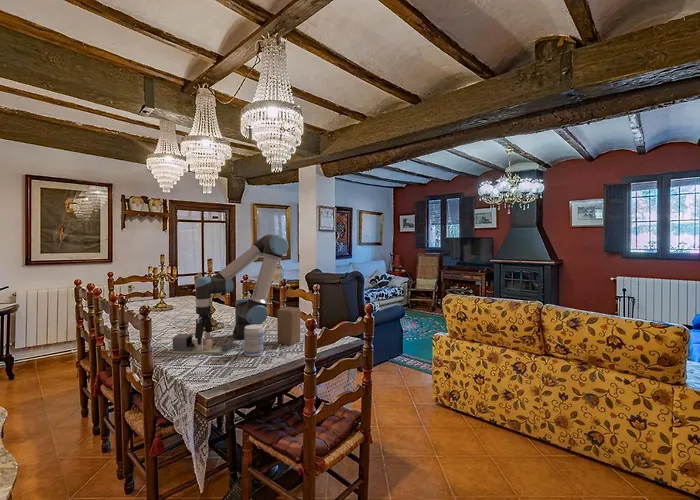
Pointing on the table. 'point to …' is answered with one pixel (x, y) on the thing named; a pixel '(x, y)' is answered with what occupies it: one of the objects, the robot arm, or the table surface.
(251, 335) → the supplement tub
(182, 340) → the cap
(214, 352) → the board
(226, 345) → the cap
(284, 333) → the wooden block
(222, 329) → the table surface
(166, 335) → the table surface
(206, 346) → the brown block
